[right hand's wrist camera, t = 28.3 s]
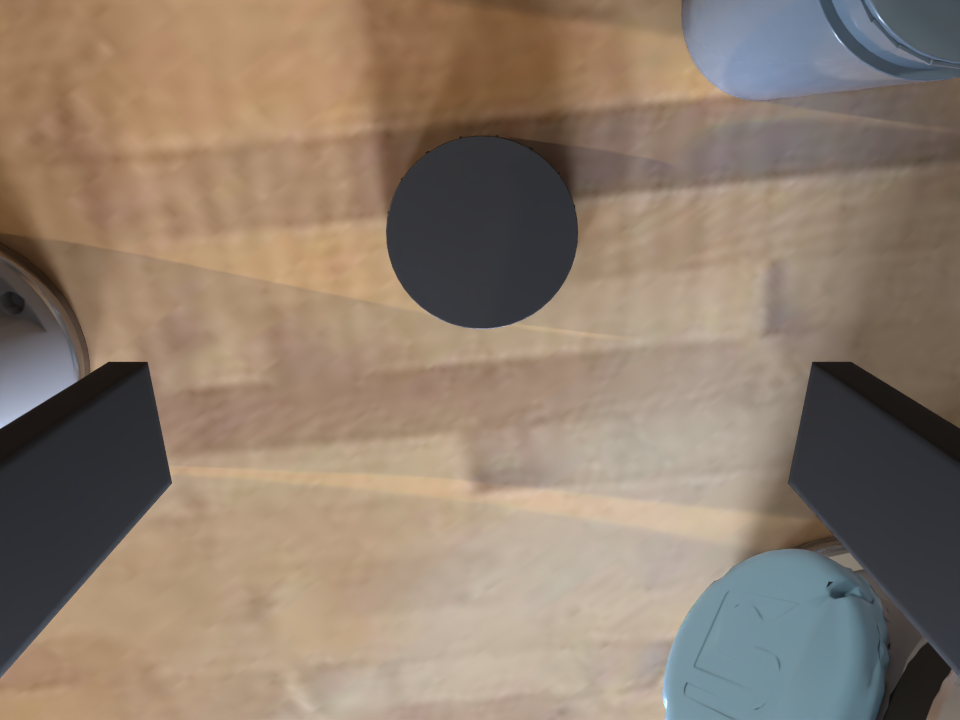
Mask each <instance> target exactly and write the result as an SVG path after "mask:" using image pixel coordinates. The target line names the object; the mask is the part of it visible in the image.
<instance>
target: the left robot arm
mask: <svg viewBox="0 0 960 720" xmlns="http://www.w3.org/2000/svg"><path fill="white" fill-rule="evenodd" d="M663 703H664V706H665V708H666V714H665V720H960V678H959V677H958V675H957V674H956V673H955V672H954V671H953V670H952V669H951V668H950V666H949V665H948V664H947V663H946V662H945V661H944V660H943V658H942V657H941V656H940V655H939V654H938V653H937V652H936V650H935V649H934V648H933V647H932V646H931V645H930V644H929V643H928V641H927V640H926V639H925V638H924V637H923V636H922V635H921V633H920V632H919V631H918V630H917V629H916V628H915V627H914V626H913V624H912V623H911V622H910V621H909V620H908V619H907V618H906V616H905V615H904V614H903V613H902V612H901V611H900V610H899V609H898V607H897V606H896V605H895V604H894V603H893V602H892V601H891V599H890V598H889V597H888V596H887V595H886V594H885V593H884V591H883V590H882V589H881V588H880V587H879V586H878V585H877V584H876V582H875V581H874V580H873V579H872V578H871V577H870V576H869V574H868V573H867V572H866V571H865V570H864V569H863V568H862V567H861V565H860V564H859V563H858V562H857V561H856V560H855V559H854V557H853V556H852V555H851V554H850V553H849V552H848V551H847V550H846V548H845V547H844V546H843V545H842V544H841V543H840V542H839V540H838V539H837V538H836V537H831V538H825V539H820V540H816V541H812V542H809V543H806V544H803V545H800V546H798V547H795V548H793V549H779V550H772V551H768V552H764V553H761V554H758V555H755V556H753V557H750V558H748V559H746V560H744V561H742V562H740V563H738V564H737V565H735V566H733V567H732V568H731V569H730V570H729V572H728V573H727V574H725V575H724V576H723V577H722V578H721V579H719V580H716V581H714V582H713V583H712V584H711V585H710V586H709V587H708V588H707V589H706V590H705V591H704V592H703V594H702V595H701V596H700V598H699V599H698V600H697V601H696V603H695V604H694V605H693V607H692V608H691V609H690V611H689V612H688V614H687V616H686V618H685V619H684V621H683V623H682V625H681V627H680V629H679V631H678V633H677V635H676V638H675V640H674V643H673V645H672V648H671V651H670V654H669V657H668V661H667V666H666V671H665V676H664V683H663Z"/></svg>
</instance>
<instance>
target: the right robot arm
mask: <svg viewBox="0 0 960 720" xmlns="http://www.w3.org/2000/svg"><path fill="white" fill-rule="evenodd" d="M171 484H172V481H171V476H170V471H169V466H168V461H167V456H166V451H165V446H164V441H163V436H162V431H161V426H160V421H159V416H158V411H157V406H156V401H155V396H154V391H153V387H152V382H151V377H150V372H149V367H148V362H108V363H106V364H105V365H103V366H101V367H100V368H98V369H97V370H95V371H93V372H92V373H90V362H89V355H88V349H87V345H86V341H85V338H84V335H83V332H82V330H81V327H80V325H79V323H78V321H77V319H76V317H75V315H74V313H73V311H72V310H71V308H70V306H69V305H68V303H67V302H66V300H65V299H64V298H63V296H62V295H61V293H60V292H59V291H58V290H57V289H56V287H55V286H54V285H53V284H52V283H51V282H50V281H49V280H48V279H47V278H46V277H45V276H44V275H43V274H42V273H41V272H40V271H39V270H38V269H37V268H35V267H34V266H33V265H32V264H31V263H29V262H28V261H27V260H25V259H24V258H23V257H21V256H20V255H18V254H16V253H15V252H13V251H12V250H10V249H8V248H6V247H5V246H3V245H1V244H0V678H1V677H2V675H3V674H4V673H5V672H6V671H7V670H8V669H9V668H10V666H11V665H12V664H13V663H14V662H15V661H16V660H17V658H18V657H19V656H20V655H21V654H22V653H23V652H24V650H25V649H26V648H27V647H28V646H29V645H30V644H31V643H32V641H33V640H34V639H35V638H36V637H37V636H38V635H39V633H40V632H41V631H42V630H43V629H44V628H45V627H46V626H47V624H48V623H49V622H50V621H51V620H52V619H53V618H54V616H55V615H56V614H57V613H58V612H59V611H60V610H61V609H62V607H63V606H64V605H65V604H66V603H67V602H68V601H69V599H70V598H71V597H72V596H73V595H74V594H75V593H76V591H77V590H78V589H79V588H80V587H81V586H82V585H83V584H84V582H85V581H86V580H87V579H88V578H89V577H90V576H91V574H92V573H93V572H94V571H95V570H96V569H97V568H98V567H99V565H100V564H101V563H102V562H103V561H104V560H105V559H106V557H107V556H108V555H109V554H110V553H111V552H112V551H113V550H114V548H115V547H116V546H117V545H118V544H119V543H120V542H121V540H122V539H123V538H124V537H125V536H126V535H127V534H128V532H129V531H130V530H131V529H132V528H133V527H134V526H135V525H136V523H137V522H138V521H139V520H140V519H141V518H142V517H143V515H144V514H145V513H146V512H147V511H148V510H149V509H150V508H151V506H152V505H153V504H154V503H155V502H156V501H157V500H158V498H159V497H160V496H161V495H162V494H163V493H164V492H165V491H166V489H167V488H168V487H169V486H170V485H171ZM788 484H789V485H790V486H791V487H792V488H793V489H794V491H795V492H796V493H797V494H798V495H799V496H800V497H801V498H802V500H803V501H804V502H805V503H806V504H807V505H808V506H809V508H810V509H811V510H812V511H813V512H814V513H815V514H816V515H817V517H818V518H819V519H820V520H821V521H822V522H823V523H824V525H825V526H826V527H827V528H828V529H829V530H830V531H831V532H832V534H833V535H834V536H835V537H836V538H837V539H838V540H839V542H840V543H841V544H842V545H843V546H844V547H845V548H846V550H847V551H848V552H849V553H850V554H851V555H852V556H853V557H854V559H855V560H856V561H857V562H858V563H859V564H860V565H861V567H862V568H863V569H864V570H865V571H866V572H867V573H868V574H869V576H870V577H871V578H872V579H873V580H874V581H875V582H876V584H877V585H878V586H879V587H880V588H881V589H882V590H883V591H884V593H885V594H886V595H887V596H888V597H889V598H890V599H891V601H892V602H893V603H894V604H895V605H896V606H897V607H898V609H899V610H900V611H901V612H902V613H903V614H904V615H905V616H906V618H907V619H908V620H909V621H910V622H911V623H912V624H913V626H914V627H915V628H916V629H917V630H918V631H919V632H920V633H921V635H922V636H923V637H924V638H925V639H926V640H927V641H928V643H929V644H930V645H931V646H932V647H933V648H934V649H935V650H936V652H937V653H938V654H939V655H940V656H941V657H942V658H943V660H944V661H945V662H946V663H947V664H948V665H949V666H950V668H951V669H952V670H953V671H954V672H955V673H956V674H957V675H958V677H959V678H960V429H959V428H958V427H956V426H955V425H953V424H951V423H950V422H948V421H946V420H945V419H943V418H942V417H940V416H938V415H937V414H935V413H933V412H932V411H930V410H929V409H927V408H925V407H924V406H922V405H920V404H919V403H917V402H916V401H914V400H912V399H911V398H909V397H907V396H906V395H904V394H902V393H901V392H899V391H898V390H896V389H894V388H893V387H891V386H889V385H888V384H886V383H885V382H883V381H881V380H880V379H878V378H876V377H875V376H873V375H872V374H870V373H868V372H867V371H865V370H863V369H862V368H860V367H859V366H857V365H855V364H854V363H852V362H812V367H811V372H810V377H809V382H808V387H807V391H806V396H805V401H804V406H803V411H802V416H801V421H800V426H799V431H798V436H797V441H796V446H795V451H794V456H793V461H792V466H791V471H790V476H789V481H788Z"/></svg>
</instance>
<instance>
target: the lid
mask: <svg viewBox="0 0 960 720" xmlns="http://www.w3.org/2000/svg"><path fill="white" fill-rule="evenodd" d="M459 138H460V139H456V140H453V141H450V142H447V143H445V144H443V145H440V146H438V147H437V148H435V149H433V150H432V151H428V152H426V155H424V156H423V157H422V158H421V159H419V160H418V161H417V162H416V163H415V164H414V165H413V166H412V167H411V168H410V169H409V171H408V172H407V173H406V175H405V176H404V177H403V178H401V182H400V184H399V185H398V187H397V189H396V191H395V193H394V196H393V199H392V201H391V204H390V208H389V211H388V217H387V227H386V237H387V249H388V253H389V257H390V260H391V264H392V267H393V269H394V271H395V274H396V276H397V278H398V280H399V281H400V283H401V285H402V286H403V288H404V289H405V290H406V292H407V293H408V294H409V295H410V297H411V298H412V299H413V300H414V301H415V302H416V303H417V304H418V305H419V306H420V307H422V308H423V309H424V310H426V311H427V312H429V313H430V314H431V315H433V316H435V317H437V318H439V319H440V320H443V321H445V322H448V323H450V324H453V325H457V326H461V327H465V328H473V329H491V328H499V327H503V326H507V325H511V324H514V323H516V322H519V321H521V320H523V319H525V318H527V317H529V316H531V315H532V314H534V313H535V312H537V311H538V310H540V309H541V308H542V307H543V306H544V305H546V304H547V303H548V302H549V301H550V300H551V299H552V298H553V296H554V295H555V294H556V293H557V292H558V291H559V289H560V288H561V286H562V284H563V283H564V281H565V280H566V278H567V276H568V274H569V271H570V269H571V267H572V264H573V261H574V258H575V253H576V248H577V242H578V241H577V238H578V226H577V217H576V212H575V205H574V204H573V201H572V198H571V195H570V193H569V191H568V189H567V187H566V185H565V183H564V182H563V180H562V179H561V177H560V176H559V173H558V172H556V170H555V169H554V168H553V167H552V166H551V165H550V164H549V163H548V162H547V161H546V160H545V159H544V158H542V157H541V156H540V155H539V154H537V153H536V152H534V151H533V149H532V148H530V147H529V148H528V147H526V146H524V145H522V144H519V143H517V142H515V141H511V140H508V139H505V138H500V137H498V135H496V136H495V137H493V136H471V137H464V138H462V136H461V137H459Z"/></svg>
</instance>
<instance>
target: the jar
mask: <svg viewBox="0 0 960 720" xmlns="http://www.w3.org/2000/svg"><path fill="white" fill-rule="evenodd" d="M682 25H683V32H684V37H685V41H686V44H687V47H688V50H689V53H690V55H691V57H692V59H693V61H694V63H695V64H696V66H697V67H698V69H699V70H700V71H701V73H702V74H703V75H704V76H705V77H706V78H707V79H708V80H709V81H710V82H711V83H712V84H713V85H715V86H716V87H717V88H719V89H720V90H722V91H724V92H726V93H728V94H730V95H733V96H735V97H738V98H742V99H747V100H756V101H765V100H776V99H784V98H793V97H802V96H810V95H819V94H828V93H836V92H845V91H853V90H862V89H871V88H879V87H888V86H897V85H905V84H914V83H923V82H931V81H940V80H947V79H952V78H956V77H960V0H682Z"/></svg>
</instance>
